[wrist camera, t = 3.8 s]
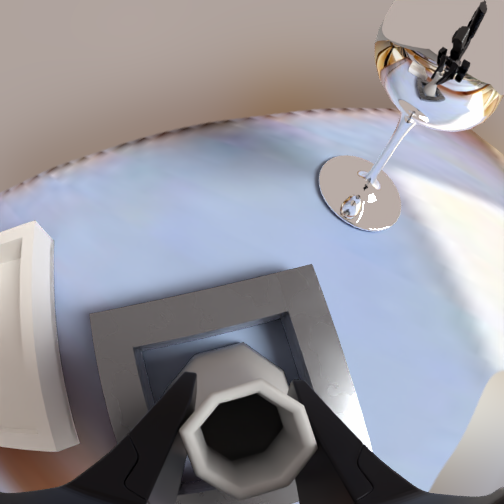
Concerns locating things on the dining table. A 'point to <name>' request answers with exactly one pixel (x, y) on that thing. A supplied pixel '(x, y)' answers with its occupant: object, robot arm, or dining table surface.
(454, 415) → the dining table surface
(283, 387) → the flask
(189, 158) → the dining table surface
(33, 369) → the tray
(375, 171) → the wineglass
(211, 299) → the holder
